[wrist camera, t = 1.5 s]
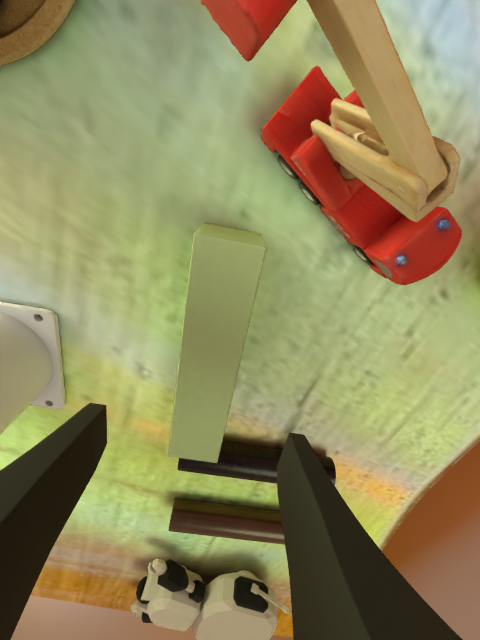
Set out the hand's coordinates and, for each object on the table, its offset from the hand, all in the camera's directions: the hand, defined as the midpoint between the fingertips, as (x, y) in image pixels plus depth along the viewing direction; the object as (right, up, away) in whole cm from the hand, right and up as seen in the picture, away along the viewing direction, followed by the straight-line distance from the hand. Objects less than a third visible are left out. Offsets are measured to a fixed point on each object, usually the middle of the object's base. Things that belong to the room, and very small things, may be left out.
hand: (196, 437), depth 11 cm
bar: (0, +4, +8) cm, 8 cm away
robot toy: (-2, -24, +21) cm, 32 cm away
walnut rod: (+1, -13, +16) cm, 20 cm away
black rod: (+3, -6, +12) cm, 14 cm away
